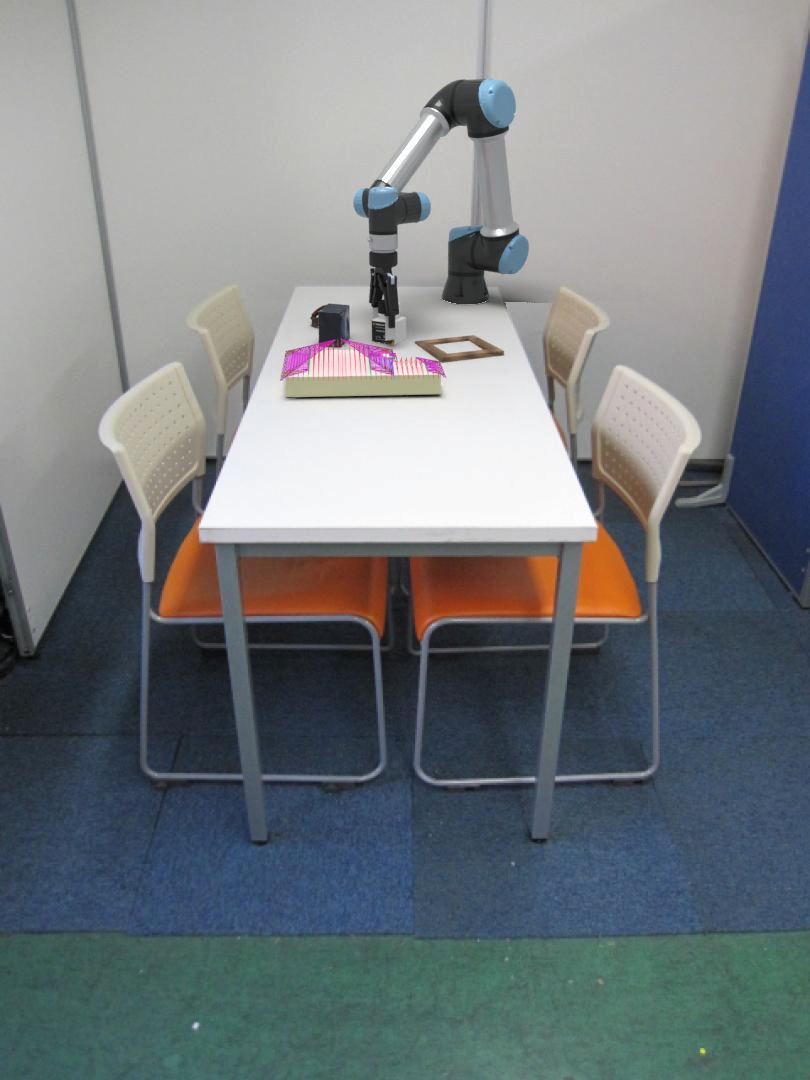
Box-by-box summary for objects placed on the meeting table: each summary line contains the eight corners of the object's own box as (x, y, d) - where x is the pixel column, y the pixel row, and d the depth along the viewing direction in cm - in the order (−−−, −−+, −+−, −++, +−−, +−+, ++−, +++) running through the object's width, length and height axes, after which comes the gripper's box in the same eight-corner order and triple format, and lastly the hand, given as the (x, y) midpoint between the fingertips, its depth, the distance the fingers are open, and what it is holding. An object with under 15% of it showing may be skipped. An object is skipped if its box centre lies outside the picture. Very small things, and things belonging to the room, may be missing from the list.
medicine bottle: (371, 345, 241) (370, 301, 235) (384, 339, 246) (384, 296, 241) (394, 348, 238) (393, 303, 232) (406, 342, 243) (406, 299, 238)
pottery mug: (348, 334, 252) (334, 310, 247) (320, 348, 254) (305, 325, 249) (349, 316, 261) (335, 293, 256) (321, 329, 263) (307, 307, 259)
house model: (434, 365, 225) (435, 325, 220) (446, 395, 202) (447, 351, 198) (286, 367, 222) (284, 327, 218) (281, 398, 200) (278, 354, 195)
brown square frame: (473, 340, 246) (473, 335, 245) (503, 356, 231) (504, 350, 230) (414, 346, 239) (414, 341, 239) (441, 363, 225) (441, 357, 224)
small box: (341, 351, 235) (340, 312, 230) (318, 350, 236) (316, 311, 231) (351, 341, 244) (350, 303, 239) (329, 340, 245) (327, 302, 241)
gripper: (356, 245, 238) (357, 327, 248) (384, 257, 220) (385, 346, 230) (381, 243, 240) (382, 325, 250) (412, 256, 222) (411, 343, 232)
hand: (383, 335), depth 240 cm, fingers closed on medicine bottle, 9 cm apart
